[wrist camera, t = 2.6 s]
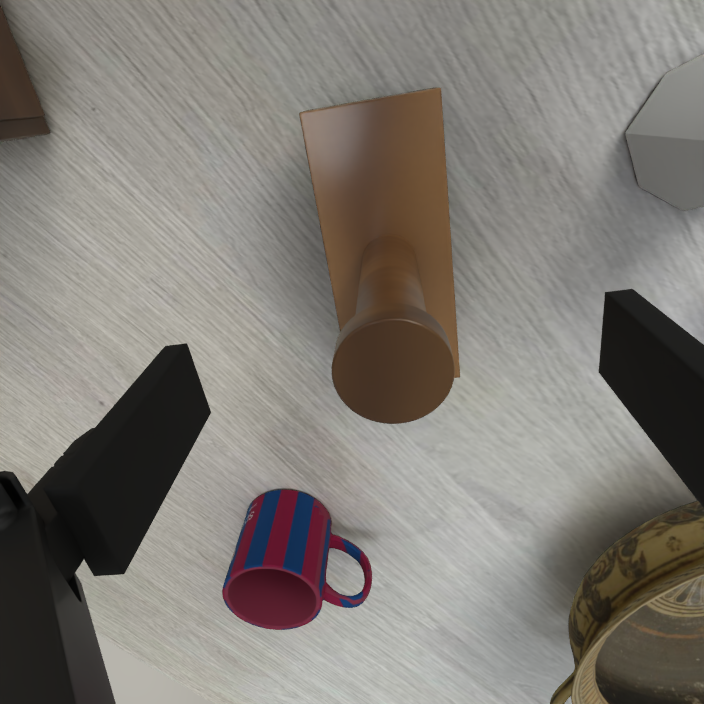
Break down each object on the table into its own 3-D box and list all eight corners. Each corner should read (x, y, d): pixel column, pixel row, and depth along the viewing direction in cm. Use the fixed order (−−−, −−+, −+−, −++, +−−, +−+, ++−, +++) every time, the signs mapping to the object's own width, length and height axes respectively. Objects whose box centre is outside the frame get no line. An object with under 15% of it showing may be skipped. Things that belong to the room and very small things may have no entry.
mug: (255, 479, 37) (231, 555, 31) (382, 512, 38) (382, 592, 32) (240, 538, 40) (215, 617, 34) (357, 567, 41) (353, 649, 35)
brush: (431, 87, 24) (491, 88, 11) (450, 340, 31) (502, 536, 17) (312, 108, 25) (229, 133, 12) (354, 351, 31) (333, 547, 18)
